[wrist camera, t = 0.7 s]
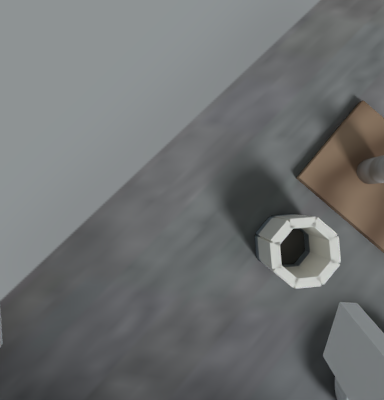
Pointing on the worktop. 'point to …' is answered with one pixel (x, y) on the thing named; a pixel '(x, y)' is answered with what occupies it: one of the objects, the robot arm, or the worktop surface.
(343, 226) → the worktop surface
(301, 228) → the cream sleeve
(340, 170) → the pin board
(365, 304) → the worktop surface
